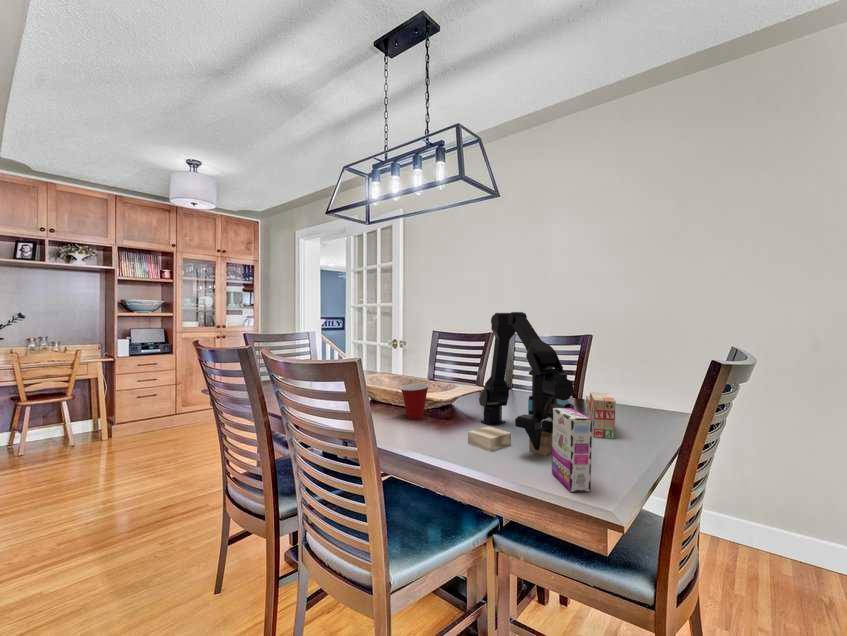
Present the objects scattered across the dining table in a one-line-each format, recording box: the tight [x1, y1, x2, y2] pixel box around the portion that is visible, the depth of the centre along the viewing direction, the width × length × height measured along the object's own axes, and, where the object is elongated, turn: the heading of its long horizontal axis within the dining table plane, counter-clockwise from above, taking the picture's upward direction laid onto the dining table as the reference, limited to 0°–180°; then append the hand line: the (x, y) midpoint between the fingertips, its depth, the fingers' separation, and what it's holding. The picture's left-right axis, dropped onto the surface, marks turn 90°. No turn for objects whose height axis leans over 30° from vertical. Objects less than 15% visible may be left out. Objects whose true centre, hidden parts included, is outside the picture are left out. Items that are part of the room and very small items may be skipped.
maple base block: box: [467, 425, 512, 452], centre depth 126 cm, size 9×9×4 cm
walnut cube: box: [528, 431, 553, 456], centre depth 120 cm, size 5×5×5 cm
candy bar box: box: [551, 408, 593, 493], centre depth 98 cm, size 11×5×16 cm, turn 5°
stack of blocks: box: [585, 391, 617, 440], centre depth 142 cm, size 21×6×12 cm, turn 165°
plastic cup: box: [399, 383, 430, 420], centre depth 156 cm, size 11×11×12 cm
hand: (541, 447), depth 120 cm, fingers closed on walnut cube, 5 cm apart
